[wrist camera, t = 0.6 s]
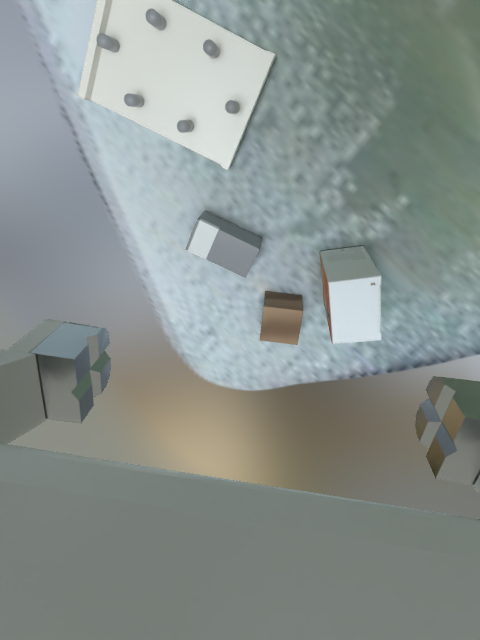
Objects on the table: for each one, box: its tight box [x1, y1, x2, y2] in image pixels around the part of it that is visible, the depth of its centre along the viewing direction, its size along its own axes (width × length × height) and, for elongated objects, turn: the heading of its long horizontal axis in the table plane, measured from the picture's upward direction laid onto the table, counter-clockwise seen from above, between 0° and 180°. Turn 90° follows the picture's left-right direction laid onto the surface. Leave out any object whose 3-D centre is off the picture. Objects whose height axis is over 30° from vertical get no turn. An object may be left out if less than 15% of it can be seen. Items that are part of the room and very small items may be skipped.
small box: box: [320, 246, 382, 344], centre depth 46 cm, size 8×6×10 cm
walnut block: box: [260, 291, 303, 345], centre depth 52 cm, size 5×5×5 cm
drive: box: [186, 210, 262, 278], centre depth 48 cm, size 4×8×5 cm, turn 66°
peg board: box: [78, 0, 276, 170], centre depth 41 cm, size 12×18×4 cm, turn 66°
